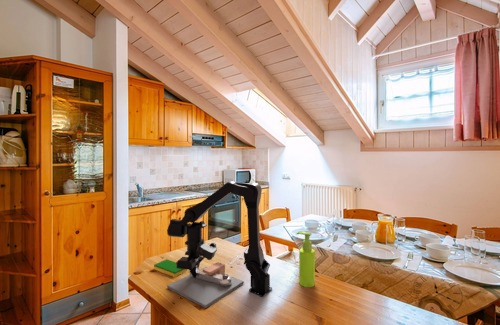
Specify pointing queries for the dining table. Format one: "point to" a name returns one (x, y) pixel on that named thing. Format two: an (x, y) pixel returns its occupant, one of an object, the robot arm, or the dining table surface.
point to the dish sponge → (169, 268)
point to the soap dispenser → (306, 262)
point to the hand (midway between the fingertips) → (194, 277)
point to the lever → (215, 278)
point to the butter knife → (236, 258)
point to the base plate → (202, 289)
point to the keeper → (215, 269)
